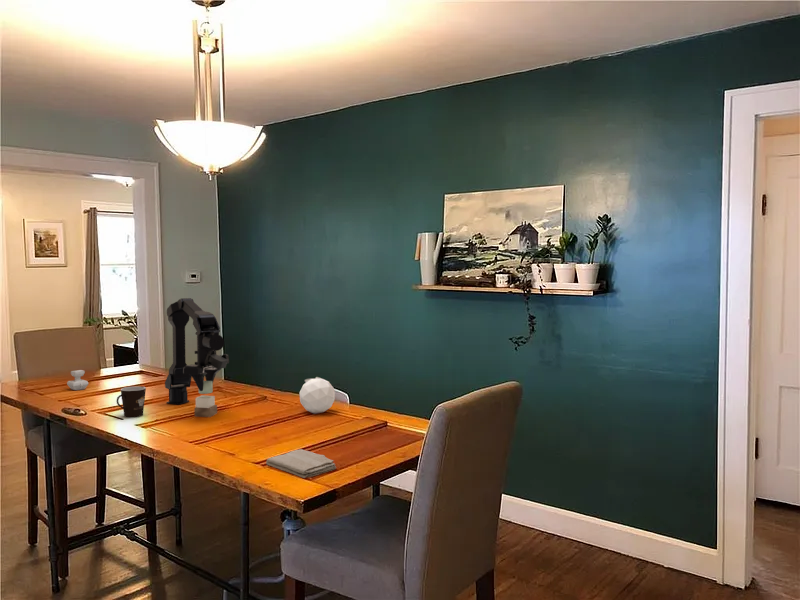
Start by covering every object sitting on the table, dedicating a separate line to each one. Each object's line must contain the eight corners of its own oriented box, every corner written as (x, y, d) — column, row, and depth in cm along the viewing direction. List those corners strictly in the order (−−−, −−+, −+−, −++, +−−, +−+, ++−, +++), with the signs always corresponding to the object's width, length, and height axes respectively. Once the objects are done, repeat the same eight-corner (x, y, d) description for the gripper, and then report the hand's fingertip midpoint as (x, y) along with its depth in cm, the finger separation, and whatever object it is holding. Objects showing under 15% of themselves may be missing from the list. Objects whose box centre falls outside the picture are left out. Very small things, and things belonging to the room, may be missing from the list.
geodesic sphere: (289, 401, 233) (312, 372, 233) (289, 394, 246) (311, 366, 247) (320, 424, 235) (343, 394, 236) (319, 415, 249) (340, 387, 249)
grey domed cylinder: (195, 393, 234) (195, 382, 234) (203, 390, 239) (203, 380, 238) (207, 394, 232) (207, 383, 232) (215, 391, 237) (215, 381, 237)
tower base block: (194, 417, 233) (194, 407, 233) (202, 413, 239) (202, 404, 239) (210, 417, 233) (210, 408, 232) (217, 414, 239) (217, 404, 238)
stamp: (65, 389, 282) (65, 370, 282) (80, 387, 288) (80, 368, 287) (74, 391, 277) (74, 372, 276) (90, 389, 282) (89, 370, 281)
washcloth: (305, 481, 166) (305, 469, 166) (264, 466, 178) (263, 455, 177) (339, 470, 175) (339, 459, 174) (297, 456, 186) (297, 446, 186)
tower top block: (195, 407, 234) (195, 397, 234) (202, 404, 239) (202, 395, 239) (208, 408, 233) (208, 398, 233) (214, 405, 238) (214, 396, 238)
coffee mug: (140, 411, 240) (140, 385, 240) (150, 415, 234) (149, 388, 234) (108, 416, 232) (108, 389, 232) (117, 420, 226) (117, 393, 225)
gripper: (208, 352, 223) (209, 396, 224) (238, 345, 241) (238, 386, 242) (182, 350, 227) (182, 393, 227) (212, 344, 244) (213, 384, 245)
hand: (205, 389), depth 235 cm, fingers closed on grey domed cylinder, 5 cm apart
